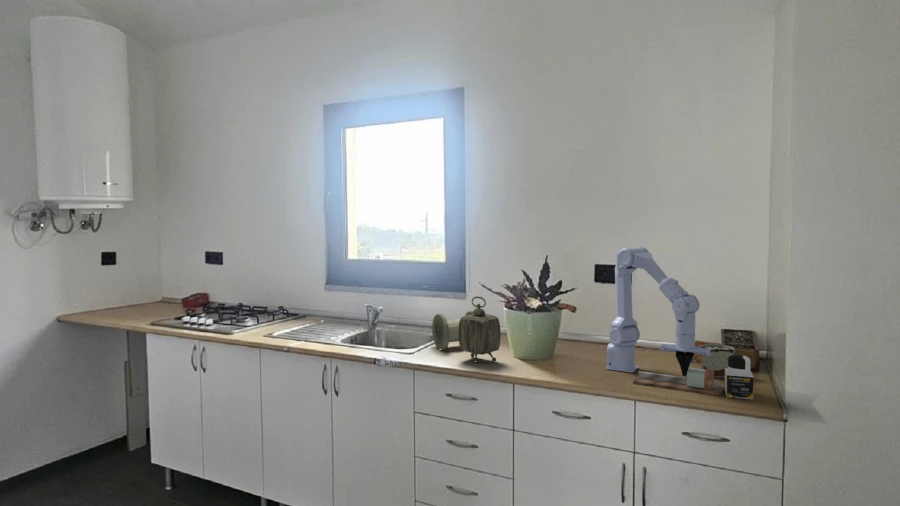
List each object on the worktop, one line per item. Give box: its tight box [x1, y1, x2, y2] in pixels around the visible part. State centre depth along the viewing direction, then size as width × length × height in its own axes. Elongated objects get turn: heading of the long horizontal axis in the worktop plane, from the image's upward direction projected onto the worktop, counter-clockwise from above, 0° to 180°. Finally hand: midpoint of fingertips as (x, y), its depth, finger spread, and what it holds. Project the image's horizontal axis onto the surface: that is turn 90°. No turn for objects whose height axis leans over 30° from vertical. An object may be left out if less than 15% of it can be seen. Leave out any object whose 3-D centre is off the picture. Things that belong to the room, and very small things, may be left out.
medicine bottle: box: [724, 354, 755, 400], centre depth 166 cm, size 7×7×12 cm
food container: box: [700, 344, 737, 378], centre depth 188 cm, size 12×6×10 cm, turn 92°
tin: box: [691, 339, 723, 365], centre depth 202 cm, size 15×3×8 cm, turn 47°
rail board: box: [632, 368, 725, 397], centre depth 177 cm, size 26×10×6 cm, turn 58°
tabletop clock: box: [458, 296, 502, 362], centre depth 210 cm, size 14×9×25 cm, turn 48°
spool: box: [431, 310, 474, 351], centre depth 233 cm, size 16×15×15 cm
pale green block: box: [686, 367, 706, 388], centre depth 174 cm, size 5×6×4 cm
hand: (684, 375), depth 175 cm, fingers closed
